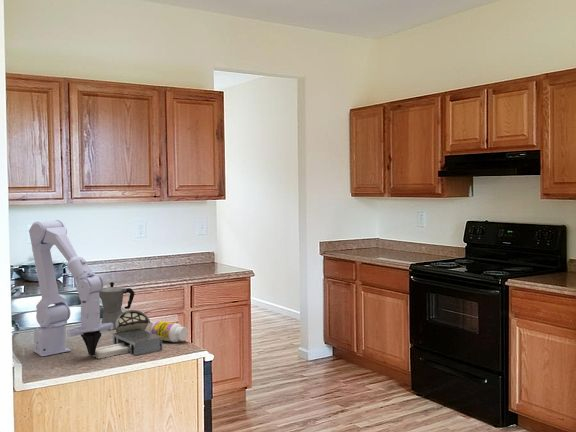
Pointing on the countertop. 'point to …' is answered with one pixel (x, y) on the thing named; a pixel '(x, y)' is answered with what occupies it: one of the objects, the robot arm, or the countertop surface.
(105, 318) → the coffeepot
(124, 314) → the food container
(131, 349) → the shelf
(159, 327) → the supplement bottle
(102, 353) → the tray
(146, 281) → the countertop surface
